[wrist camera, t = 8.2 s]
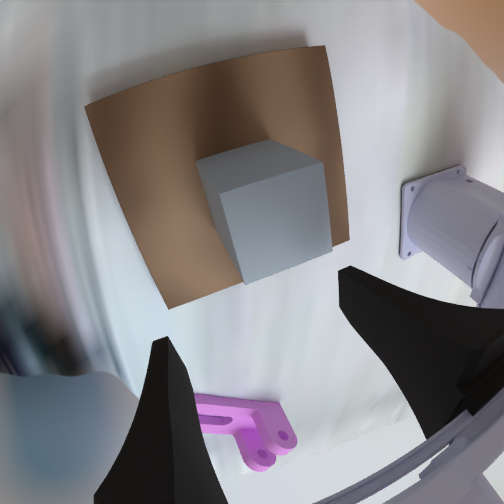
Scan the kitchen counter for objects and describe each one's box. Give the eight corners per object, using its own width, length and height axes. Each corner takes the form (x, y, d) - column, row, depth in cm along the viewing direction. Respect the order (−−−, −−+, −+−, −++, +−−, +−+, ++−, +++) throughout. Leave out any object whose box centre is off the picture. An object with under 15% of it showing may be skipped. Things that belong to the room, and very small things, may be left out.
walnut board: (309, 48, 17) (325, 45, 16) (335, 228, 25) (349, 240, 23) (90, 105, 15) (84, 106, 13) (165, 292, 23) (168, 309, 21)
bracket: (278, 401, 35) (302, 447, 29) (254, 426, 36) (273, 470, 31) (178, 389, 28) (192, 449, 23) (159, 417, 30) (170, 473, 24)
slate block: (270, 138, 18) (323, 162, 13) (283, 206, 20) (332, 251, 15) (195, 160, 17) (219, 193, 12) (216, 230, 19) (245, 285, 14)
